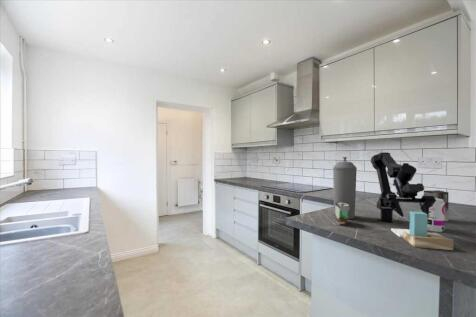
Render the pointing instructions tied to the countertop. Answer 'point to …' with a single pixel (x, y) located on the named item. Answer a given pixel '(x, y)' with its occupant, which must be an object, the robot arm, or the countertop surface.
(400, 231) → the white pad
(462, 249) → the countertop surface
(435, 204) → the supplement can
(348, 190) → the canister
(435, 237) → the offcut top
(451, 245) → the oak rack
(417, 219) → the teal rectangular block
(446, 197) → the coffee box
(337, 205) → the food container
